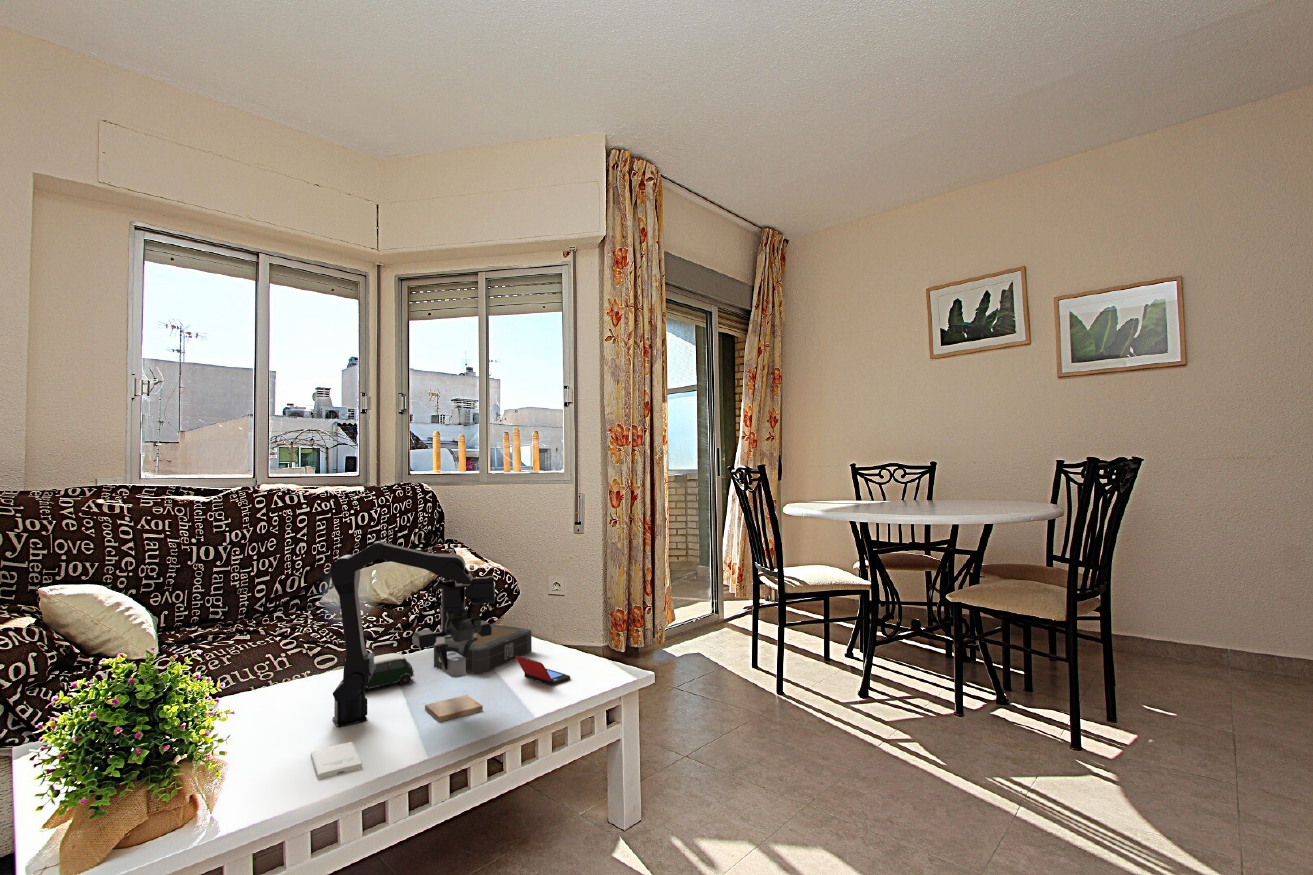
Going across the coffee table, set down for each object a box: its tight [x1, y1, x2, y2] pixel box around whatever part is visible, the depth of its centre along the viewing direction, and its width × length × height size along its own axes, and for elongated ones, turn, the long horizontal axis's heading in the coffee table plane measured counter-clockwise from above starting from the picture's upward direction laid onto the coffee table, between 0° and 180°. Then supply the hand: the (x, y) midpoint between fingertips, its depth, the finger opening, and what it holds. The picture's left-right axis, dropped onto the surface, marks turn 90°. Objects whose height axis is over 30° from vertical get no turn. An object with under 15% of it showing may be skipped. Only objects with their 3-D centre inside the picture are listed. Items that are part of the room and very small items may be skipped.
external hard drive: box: [310, 741, 364, 780], centre depth 137 cm, size 2×8×12 cm
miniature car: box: [362, 652, 415, 692], centre depth 184 cm, size 9×18×8 cm, turn 129°
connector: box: [439, 651, 467, 679], centre depth 166 cm, size 4×12×4 cm, turn 38°
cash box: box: [433, 623, 533, 675], centre depth 208 cm, size 25×20×8 cm
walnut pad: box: [424, 694, 484, 723], centre depth 165 cm, size 11×10×1 cm
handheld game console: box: [515, 656, 571, 687], centre depth 187 cm, size 12×11×7 cm
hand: (453, 667), depth 165 cm, fingers closed on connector, 4 cm apart
